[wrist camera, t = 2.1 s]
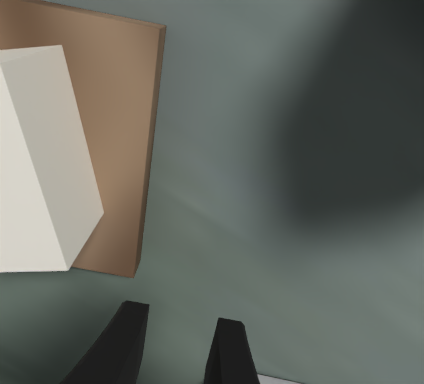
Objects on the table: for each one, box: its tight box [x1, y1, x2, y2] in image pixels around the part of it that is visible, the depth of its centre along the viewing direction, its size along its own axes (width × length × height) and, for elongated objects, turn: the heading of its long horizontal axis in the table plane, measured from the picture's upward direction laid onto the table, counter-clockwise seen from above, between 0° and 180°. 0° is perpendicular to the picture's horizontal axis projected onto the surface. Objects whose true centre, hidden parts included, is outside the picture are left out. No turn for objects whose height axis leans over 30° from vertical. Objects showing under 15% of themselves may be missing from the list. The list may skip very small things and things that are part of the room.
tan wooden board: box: [0, 0, 166, 278], centre depth 19 cm, size 12×13×2 cm
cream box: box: [0, 45, 104, 272], centre depth 16 cm, size 5×8×4 cm, turn 5°
